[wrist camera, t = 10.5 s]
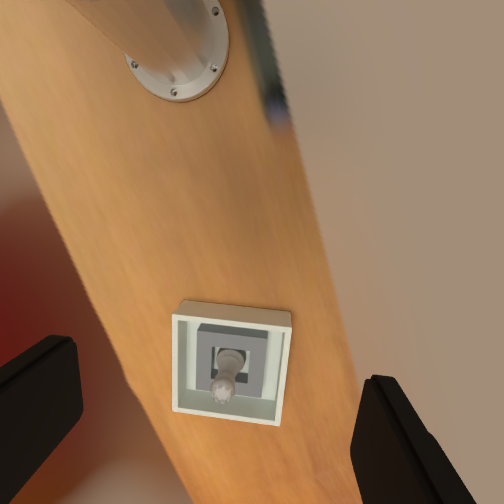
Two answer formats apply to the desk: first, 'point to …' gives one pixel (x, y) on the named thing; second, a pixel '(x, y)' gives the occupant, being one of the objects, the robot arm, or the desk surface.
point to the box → (233, 337)
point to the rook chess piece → (227, 373)
